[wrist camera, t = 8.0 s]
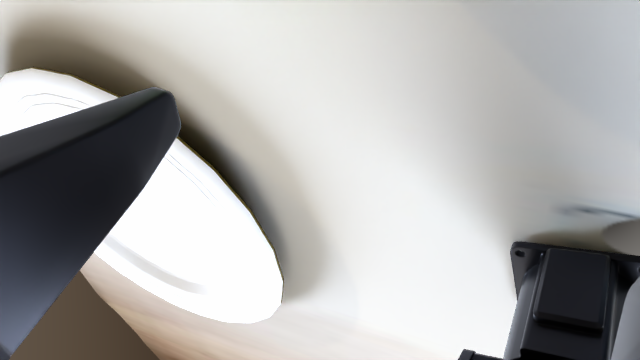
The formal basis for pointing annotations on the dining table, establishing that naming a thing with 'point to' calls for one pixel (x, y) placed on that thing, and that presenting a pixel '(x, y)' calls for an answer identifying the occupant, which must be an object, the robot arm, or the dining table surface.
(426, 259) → the dining table surface
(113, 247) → the plate
